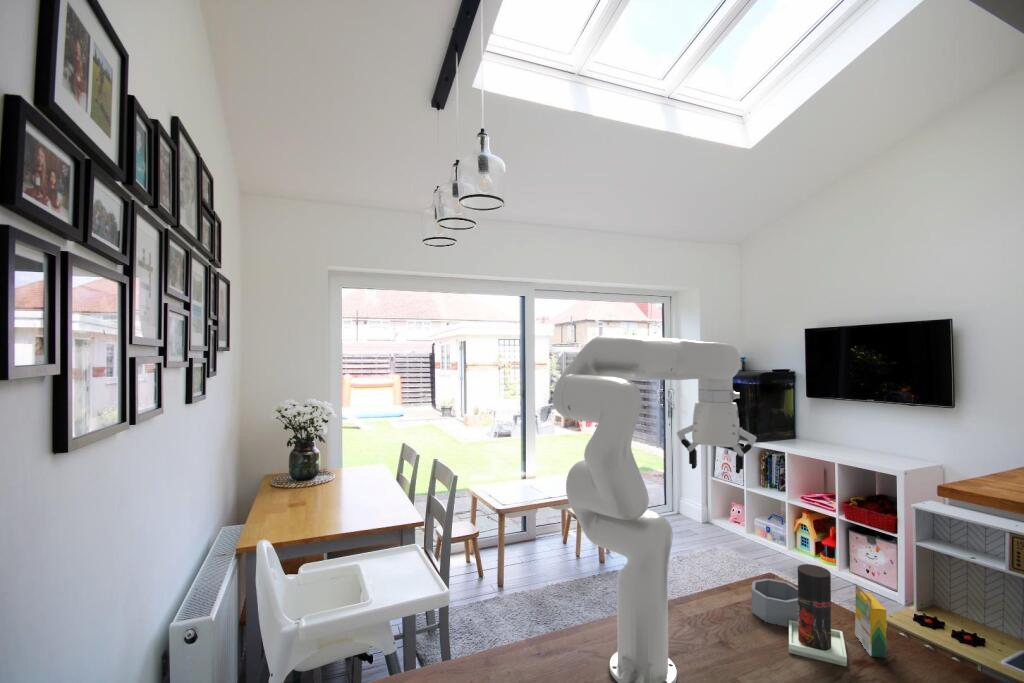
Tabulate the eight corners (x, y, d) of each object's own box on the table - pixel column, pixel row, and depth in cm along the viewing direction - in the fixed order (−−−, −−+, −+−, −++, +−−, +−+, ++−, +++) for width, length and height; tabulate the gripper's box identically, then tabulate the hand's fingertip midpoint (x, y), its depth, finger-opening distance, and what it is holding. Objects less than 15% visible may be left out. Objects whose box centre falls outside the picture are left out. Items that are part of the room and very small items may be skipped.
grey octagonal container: (802, 630, 115) (802, 605, 115) (750, 618, 120) (750, 594, 120) (801, 608, 124) (801, 584, 124) (753, 598, 129) (753, 575, 129)
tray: (846, 666, 102) (846, 657, 102) (788, 652, 107) (788, 643, 107) (842, 639, 111) (842, 631, 111) (788, 627, 116) (788, 619, 116)
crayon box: (887, 658, 105) (887, 600, 105) (870, 656, 105) (870, 599, 105) (870, 637, 112) (870, 583, 112) (854, 636, 113) (854, 582, 112)
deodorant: (837, 650, 106) (836, 577, 106) (807, 650, 106) (806, 577, 106) (821, 634, 112) (820, 564, 112) (792, 633, 112) (792, 564, 112)
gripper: (757, 396, 122) (757, 470, 122) (679, 393, 130) (680, 462, 130) (755, 400, 115) (755, 478, 116) (674, 396, 123) (674, 469, 124)
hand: (715, 469), depth 123 cm, fingers open, 9 cm apart
